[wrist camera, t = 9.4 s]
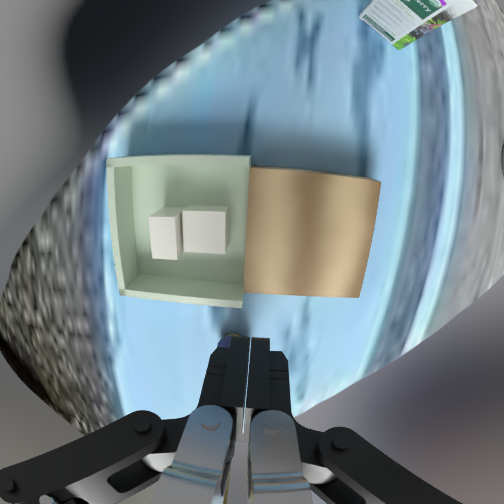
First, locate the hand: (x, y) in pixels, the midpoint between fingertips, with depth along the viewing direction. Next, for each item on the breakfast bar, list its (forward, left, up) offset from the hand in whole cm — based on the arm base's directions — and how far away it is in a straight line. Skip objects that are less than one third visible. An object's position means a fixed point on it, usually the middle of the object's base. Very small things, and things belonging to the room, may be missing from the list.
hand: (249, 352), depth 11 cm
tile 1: (+5, 0, -18) cm, 19 cm away
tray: (+8, 0, -19) cm, 20 cm away
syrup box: (-13, -25, -19) cm, 34 cm away
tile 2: (+7, 0, -16) cm, 17 cm away
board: (-5, 0, -19) cm, 19 cm away
